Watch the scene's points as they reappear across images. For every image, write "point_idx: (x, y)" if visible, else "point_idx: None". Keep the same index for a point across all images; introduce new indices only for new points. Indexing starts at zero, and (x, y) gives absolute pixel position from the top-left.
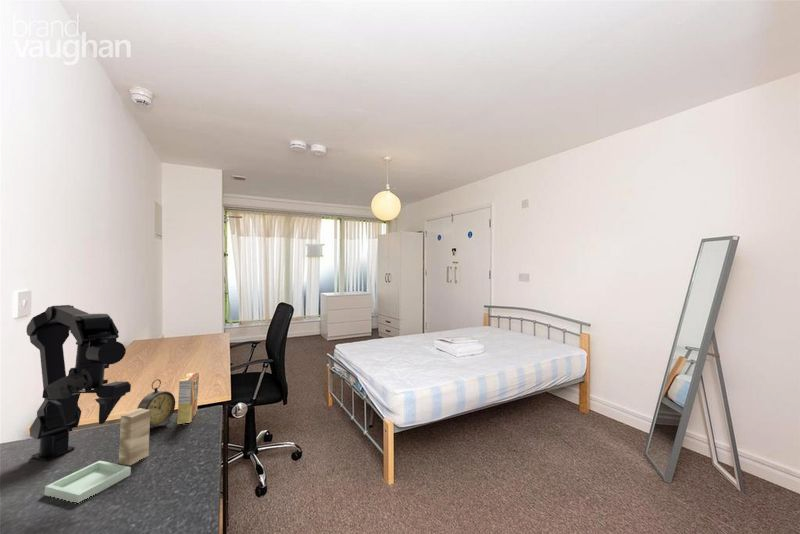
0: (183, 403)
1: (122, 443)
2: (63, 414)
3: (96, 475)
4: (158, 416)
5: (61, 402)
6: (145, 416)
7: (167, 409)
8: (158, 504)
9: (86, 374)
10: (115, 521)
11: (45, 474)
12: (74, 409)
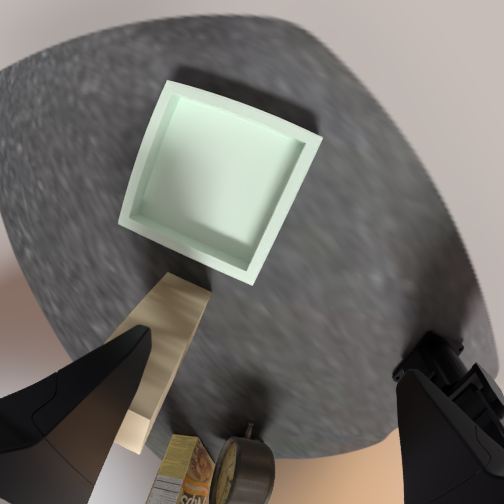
0: (172, 477)
1: (178, 323)
2: (452, 414)
3: (223, 220)
4: (230, 460)
5: (501, 484)
6: None
7: (222, 475)
8: (29, 106)
9: None
10: (69, 52)
11: (398, 264)
12: (407, 464)
